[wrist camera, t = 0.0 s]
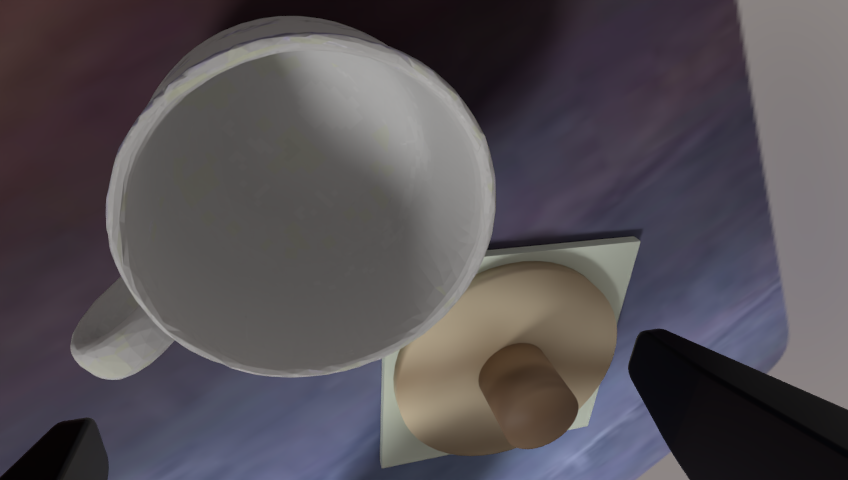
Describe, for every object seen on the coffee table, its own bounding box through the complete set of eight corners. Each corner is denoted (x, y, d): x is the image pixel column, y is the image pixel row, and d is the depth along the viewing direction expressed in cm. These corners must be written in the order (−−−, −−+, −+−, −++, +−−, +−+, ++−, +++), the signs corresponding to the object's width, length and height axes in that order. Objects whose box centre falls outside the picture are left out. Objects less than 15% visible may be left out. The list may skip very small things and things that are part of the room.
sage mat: (582, 419, 35) (587, 426, 34) (379, 460, 31) (381, 468, 31) (633, 236, 28) (640, 241, 28) (384, 259, 25) (387, 266, 24)
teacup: (380, -39, 19) (452, -36, 12) (456, 209, 24) (532, 305, 18) (-1, 101, 17) (-160, 193, 11) (173, 327, 23) (141, 479, 17)
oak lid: (582, 421, 34) (623, 479, 30) (390, 460, 31) (409, 532, 27) (630, 249, 28) (689, 296, 24) (397, 274, 25) (423, 332, 21)
